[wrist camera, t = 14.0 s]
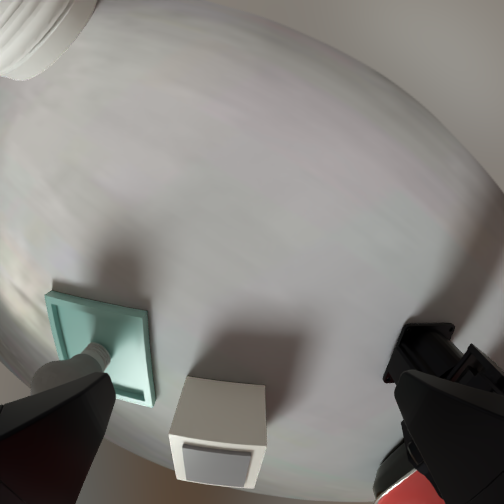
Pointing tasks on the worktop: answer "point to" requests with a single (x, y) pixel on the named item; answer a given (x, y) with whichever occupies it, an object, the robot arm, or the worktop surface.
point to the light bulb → (71, 368)
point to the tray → (106, 341)
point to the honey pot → (38, 33)
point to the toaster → (402, 482)
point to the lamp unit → (219, 433)
